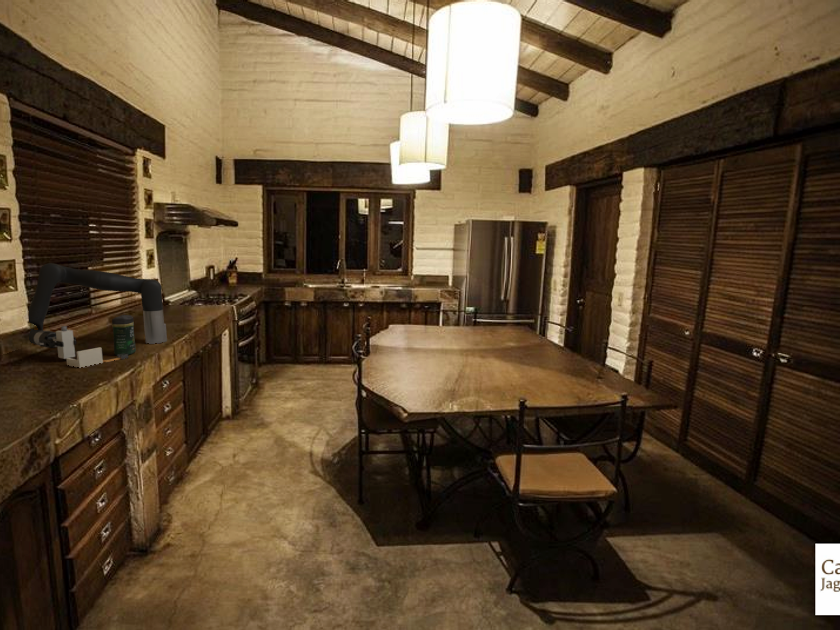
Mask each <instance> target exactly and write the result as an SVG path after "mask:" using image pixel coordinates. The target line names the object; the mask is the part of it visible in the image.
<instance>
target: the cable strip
mask: <svg viewBox="0 0 840 630" xmlns="http://www.w3.org/2000/svg"><path fill="white" fill-rule="evenodd" d="M114 360H115V361H119V360H122V359H121V358H118V357H116V358H111V359H103V363H110V362H114Z"/></svg>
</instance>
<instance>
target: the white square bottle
mask: <svg viewBox="0 0 840 630" xmlns="http://www.w3.org/2000/svg"><path fill="white" fill-rule="evenodd" d="M60 328H61V330H56V331H55V332H56V338H57V341H61V342H63V343H64V347H59V346H57V347H56V349H57V354H58V355H57V356H58V358H60V359H64V360H66V359H67V358H71V359H72V358H75V357H76V349H75V345H74V339H73V336H74V330H73V329H68V326H67V325H61V326H60Z"/></svg>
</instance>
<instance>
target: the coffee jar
mask: <svg viewBox="0 0 840 630" xmlns="http://www.w3.org/2000/svg"><path fill="white" fill-rule="evenodd" d="M134 321H135V320H134V317H133V315H131V314H121V315H119V316H115V317H113V318H112V319H111V327H112V332H113V353H114V355H115V356H117V354H122V353H126V354H128V356H130V355H133V354H134V353H136V351H137V349H136V341H135V329H134V328H135V327H134V326H135V325H134Z"/></svg>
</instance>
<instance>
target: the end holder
mask: <svg viewBox="0 0 840 630" xmlns="http://www.w3.org/2000/svg"><path fill="white" fill-rule="evenodd" d="M65 360H66V365H67V366H68V365H69V366H68V367H73V366H74V368H77V367H79V368H78V369H81V367H83V368H86V367H85V366H87V367H91V366H90V365H92V366H95V365H94V364H96V365H100V364H99V363H101V364H103V363H104V362H103V360H104V359H103V349H102V347H95V348H89V349H83V350H78V351H76V359H75V358H72V357H71V358H65Z"/></svg>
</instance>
